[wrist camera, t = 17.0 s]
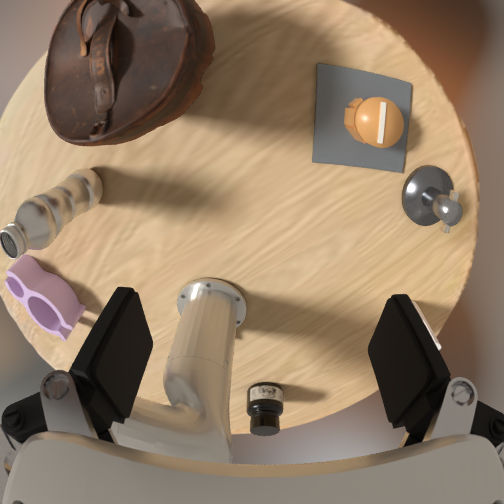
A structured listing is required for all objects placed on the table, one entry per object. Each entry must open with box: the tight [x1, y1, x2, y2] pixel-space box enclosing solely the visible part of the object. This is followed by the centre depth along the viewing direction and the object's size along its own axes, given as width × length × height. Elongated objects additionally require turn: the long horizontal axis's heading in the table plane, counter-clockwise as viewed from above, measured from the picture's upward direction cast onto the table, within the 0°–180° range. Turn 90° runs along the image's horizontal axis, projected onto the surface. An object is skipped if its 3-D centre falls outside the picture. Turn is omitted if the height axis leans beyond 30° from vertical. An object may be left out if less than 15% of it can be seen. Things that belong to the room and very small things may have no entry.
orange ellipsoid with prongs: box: [344, 97, 404, 148], centre depth 29 cm, size 6×6×6 cm
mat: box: [312, 63, 411, 173], centre depth 32 cm, size 14×14×1 cm
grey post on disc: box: [402, 165, 462, 233], centre depth 34 cm, size 10×10×8 cm
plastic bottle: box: [0, 169, 103, 260], centre depth 29 cm, size 6×7×20 cm
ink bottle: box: [247, 383, 283, 436], centre depth 58 cm, size 10×9×12 cm
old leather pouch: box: [44, 0, 215, 146], centre depth 21 cm, size 18×20×18 cm
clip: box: [5, 255, 86, 341], centre depth 47 cm, size 20×12×7 cm, turn 44°
